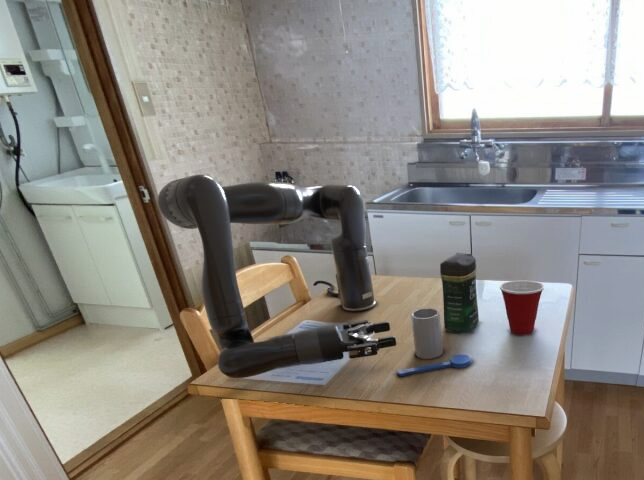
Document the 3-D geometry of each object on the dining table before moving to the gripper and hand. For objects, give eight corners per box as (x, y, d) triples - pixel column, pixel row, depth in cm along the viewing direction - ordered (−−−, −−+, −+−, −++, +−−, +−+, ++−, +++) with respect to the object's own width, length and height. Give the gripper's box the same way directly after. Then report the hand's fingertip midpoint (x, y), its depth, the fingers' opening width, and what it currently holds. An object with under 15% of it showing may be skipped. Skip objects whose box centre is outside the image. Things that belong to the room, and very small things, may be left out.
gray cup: (410, 354, 121) (405, 314, 116) (429, 344, 125) (425, 305, 120) (429, 361, 118) (424, 321, 113) (448, 351, 122) (445, 311, 117)
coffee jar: (469, 336, 128) (464, 263, 119) (440, 332, 131) (433, 260, 122) (483, 321, 136) (480, 251, 127) (456, 318, 139) (450, 249, 129)
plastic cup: (548, 323, 133) (549, 278, 127) (538, 341, 124) (538, 293, 118) (507, 320, 136) (506, 275, 130) (495, 337, 127) (493, 290, 121)
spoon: (399, 379, 111) (398, 375, 110) (396, 370, 115) (395, 366, 114) (473, 365, 115) (473, 361, 114) (467, 357, 119) (467, 352, 118)
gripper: (316, 343, 105) (395, 329, 109) (313, 317, 117) (385, 306, 120) (323, 375, 108) (400, 361, 112) (320, 347, 120) (389, 335, 124)
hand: (392, 332), depth 116 cm, fingers open, 8 cm apart
